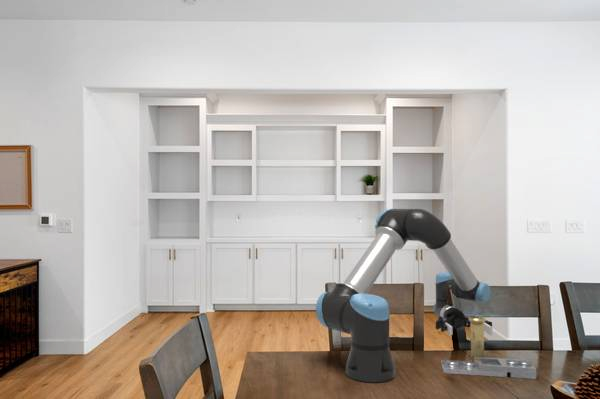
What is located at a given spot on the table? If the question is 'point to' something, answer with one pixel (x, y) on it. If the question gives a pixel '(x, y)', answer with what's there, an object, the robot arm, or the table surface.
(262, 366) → the table surface
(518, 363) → the chain end
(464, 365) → the chain end
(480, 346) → the brass pin
